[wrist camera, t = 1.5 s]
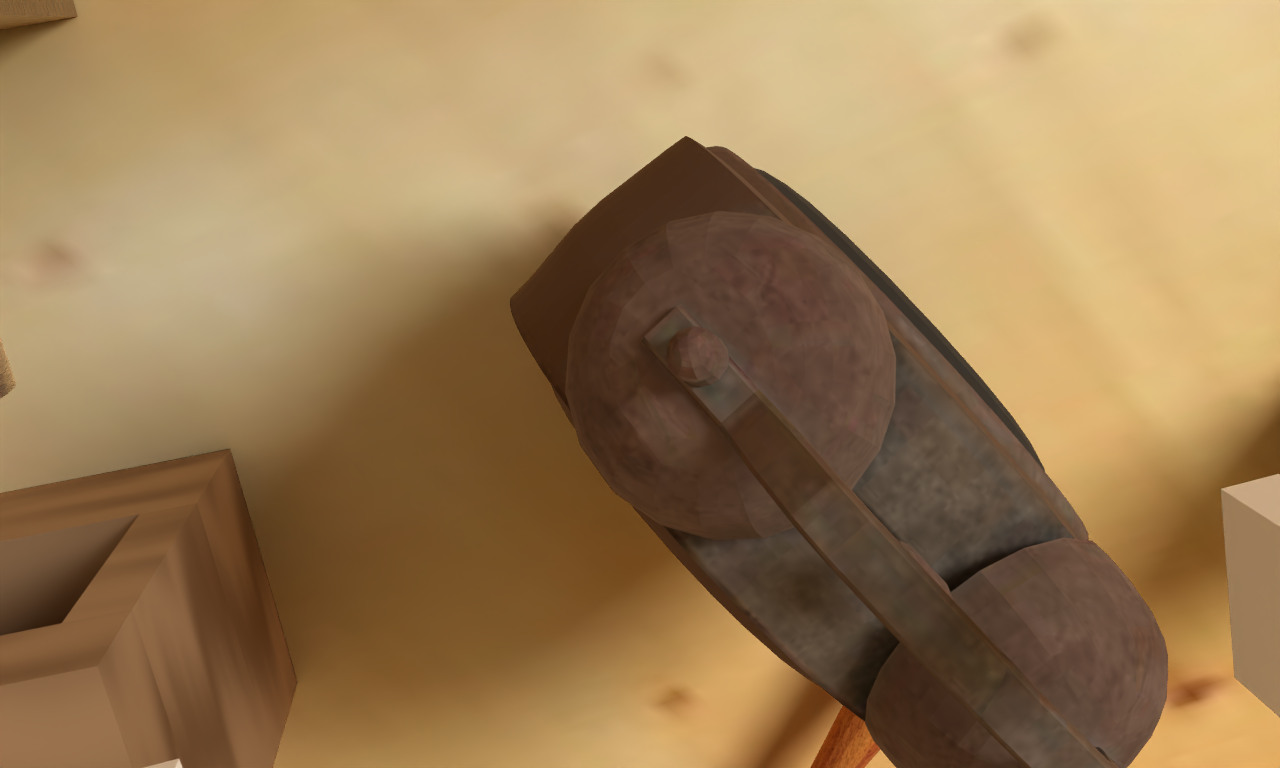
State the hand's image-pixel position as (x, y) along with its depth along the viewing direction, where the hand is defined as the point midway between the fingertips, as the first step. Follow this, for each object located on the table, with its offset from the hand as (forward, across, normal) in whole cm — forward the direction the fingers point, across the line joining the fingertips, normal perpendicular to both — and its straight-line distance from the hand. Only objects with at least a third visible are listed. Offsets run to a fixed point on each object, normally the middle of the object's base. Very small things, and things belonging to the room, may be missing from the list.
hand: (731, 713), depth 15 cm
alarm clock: (+22, +4, -2) cm, 23 cm away
